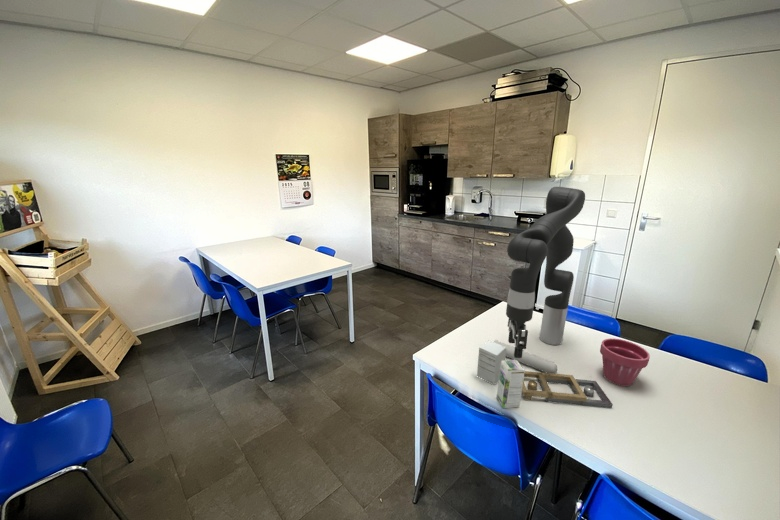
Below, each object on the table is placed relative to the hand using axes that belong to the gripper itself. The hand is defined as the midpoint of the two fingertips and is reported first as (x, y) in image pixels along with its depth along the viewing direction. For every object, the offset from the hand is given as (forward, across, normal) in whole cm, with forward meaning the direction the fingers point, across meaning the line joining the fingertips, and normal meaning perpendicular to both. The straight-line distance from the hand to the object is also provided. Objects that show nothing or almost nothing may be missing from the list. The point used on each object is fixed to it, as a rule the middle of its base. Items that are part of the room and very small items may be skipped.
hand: (514, 349), depth 101 cm
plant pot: (+20, +19, -43) cm, 51 cm away
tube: (+20, +25, -11) cm, 34 cm away
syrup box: (+20, 0, 0) cm, 20 cm away
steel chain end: (+20, +8, -23) cm, 32 cm away
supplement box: (+20, +13, +4) cm, 24 cm away
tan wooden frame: (+20, +8, -15) cm, 26 cm away
